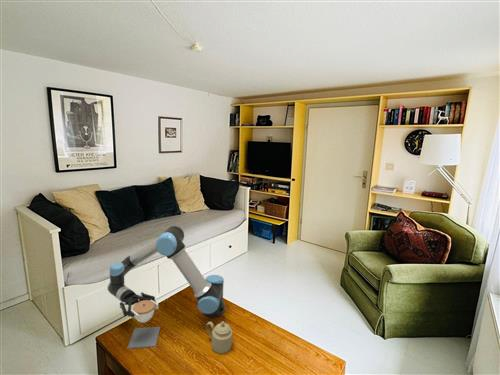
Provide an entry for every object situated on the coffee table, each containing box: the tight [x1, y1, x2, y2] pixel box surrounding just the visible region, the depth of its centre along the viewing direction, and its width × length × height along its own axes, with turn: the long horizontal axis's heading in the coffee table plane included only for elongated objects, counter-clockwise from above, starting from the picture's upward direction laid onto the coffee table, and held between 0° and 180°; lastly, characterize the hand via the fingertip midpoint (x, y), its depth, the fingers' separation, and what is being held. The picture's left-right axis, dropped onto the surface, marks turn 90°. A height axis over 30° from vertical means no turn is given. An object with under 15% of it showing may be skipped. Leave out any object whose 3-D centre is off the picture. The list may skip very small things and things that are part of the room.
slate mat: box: [127, 326, 161, 350], centre depth 144 cm, size 14×14×1 cm
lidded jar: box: [132, 300, 155, 323], centre depth 141 cm, size 11×11×9 cm
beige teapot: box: [205, 320, 233, 354], centre depth 141 cm, size 15×11×15 cm
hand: (148, 312), depth 139 cm, fingers closed on lidded jar, 11 cm apart
